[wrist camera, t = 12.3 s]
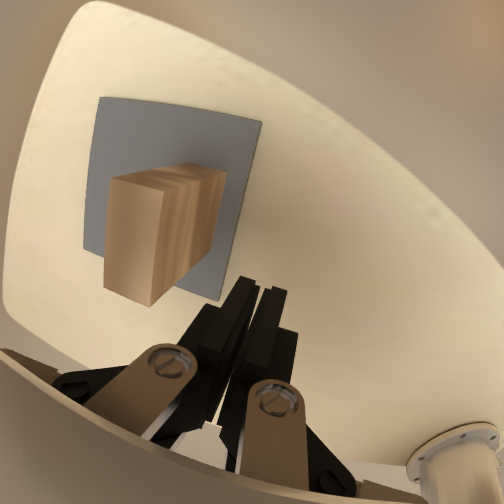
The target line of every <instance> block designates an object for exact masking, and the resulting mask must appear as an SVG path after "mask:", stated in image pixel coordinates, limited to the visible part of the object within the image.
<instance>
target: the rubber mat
mask: <svg viewBox="0 0 504 504" xmlns="http://www.w3.org/2000/svg"><path fill="white" fill-rule="evenodd" d="M261 125H262V122H260V121H256V120H252V119H247V118H243V117H238V116H233V115H228V114H223V113H218V112H213V111H207V110H202V109H196V108H190V107H184V106H177V105H170V104H163V103H156V102H147V101H139V100H129V99H118V98H106V97H100V99H99V104H98V109H97V114H96V120H95V125H94V131H93V138H92V145H91V152H90V159H89V168H88V177H87V188H86V200H85V215H84V241H83V249H85V250H87V251H89V252H92V253H94V254H96V255H99V256H101V257H104V252H105V233H106V219H107V208H108V197H109V188H110V180H111V177H115V176H120V175H125V174H129V173H134V172H139V171H145V170H150V169H155V168H161V167H166V166H172V165H178V164H184V163H192V164H196V165H200V166H204V167H208V168H212V169H216V170H220V171H224V172H228V173H227V178H226V182H225V186H224V191H223V195H222V200H221V204H220V209H219V213H218V218H217V222H216V227H215V232H214V236H213V241H212V246H211V251H210V252H209V253H208V254H207V255H205V256H204V257H203V258H202V259H201V260H200V261H199V262H198V263H197V264H196V265H195V266H193V267H192V268H191V269H190V270H189V271H188V272H187V273H186V274H185V275H184V276H183V277H182V278H181V279H179V280H178V281H177V282H176V283H175V284H174V285H173V286H176V287H179V288H181V289H184V290H187V291H189V292H192V293H195V294H197V295H200V296H203V297H206V298H208V299H211V300H214V301H217V302H218V301H219V299H220V294H221V290H222V286H223V281H224V277H225V273H226V268H227V264H228V260H229V255H230V251H231V247H232V243H233V238H234V234H235V230H236V226H237V222H238V217H239V213H240V209H241V205H242V201H243V197H244V193H245V189H246V184H247V180H248V176H249V172H250V168H251V164H252V160H253V156H254V152H255V148H256V144H257V140H258V136H259V133H260V129H261Z"/></svg>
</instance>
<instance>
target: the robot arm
mask: <svg viewBox="0 0 504 504" xmlns="http://www.w3.org/2000/svg"><path fill="white" fill-rule="evenodd" d="M255 282H256V280H253V279H249V278H246V277H243V276H240V277H239V279H238V280H237V282H236V284H235V285H234V287H233V288H232V290H231V292H230V293H229V295H228V297H227V298H226V300H225V302H224V303H223V305H222V307H221V308H219V307H216V306H213V305H210V304H208V303H206V304H205V305H204V306H203V308H202V309H201V310H200V312H199V313H198V315H197V316H196V318H195V319H194V320H193V322H192V323H191V325H190V326H189V327H188V329H187V330H186V332H185V333H184V335H183V336H182V337H181V339H180V340H179V342H178V343H177V345H175V344H169V343H166V344H158V345H154V346H152V347H150V348H149V349H147V350H146V351H145V352H143V353H142V354H141V355H140V356H139V357H138V358H137V359H135V360H134V361H133V362H132V363H131V364H130V365H126V366H118V367H110V368H102V369H93V370H85V371H75V372H69V373H64V374H60V373H59V370H58V369H56V368H54V367H51V366H48V365H46V364H43V363H41V362H38V361H36V360H33V359H31V358H29V357H26V356H24V355H22V354H20V353H17V352H15V351H13V350H10V349H6V348H5V349H0V504H504V496H503V492H502V488H501V483H500V480H499V477H500V474H501V470H500V469H503V468H504V460H497V457H496V454H495V450H496V448H497V446H498V444H499V440H500V437H499V433H498V431H497V428H496V427H494V426H493V425H491V424H488V423H475V424H469V425H465V426H462V427H458V428H455V429H453V430H451V431H448V432H446V433H444V434H442V435H440V436H438V437H436V438H434V439H433V440H431V441H429V442H428V443H426V444H425V445H424V446H422V447H421V448H420V449H419V450H418V451H416V452H415V453H414V454H413V456H412V457H411V458H410V460H409V461H408V463H407V468H406V470H407V476H408V478H409V480H411V481H412V482H414V483H417V484H420V487H421V496H419V495H416V494H411V493H407V492H404V491H401V490H397V489H393V488H390V487H387V486H383V485H380V484H377V483H373V482H371V481H367V480H363V481H361V482H359V481H356V480H355V479H354V477H353V476H352V474H351V473H350V472H349V470H347V468H345V466H344V465H343V464H342V463H341V462H340V461H339V460H338V459H337V458H336V457H335V455H334V454H333V453H332V452H331V451H330V450H329V449H328V448H327V447H326V446H325V445H324V443H323V442H322V441H321V440H320V439H319V438H318V437H317V436H316V435H315V433H314V432H313V431H312V430H311V429H310V428H309V427H308V425H307V424H306V417H305V403H304V400H303V397H302V395H301V394H300V392H299V391H298V390H297V389H296V388H294V387H293V386H292V385H290V380H291V374H292V369H293V363H294V357H295V352H296V346H297V340H298V333H296V332H293V331H290V330H286V329H283V328H280V327H278V326H279V322H280V319H281V315H282V311H283V307H284V303H285V299H286V295H287V290H284V289H281V288H278V287H275V286H272V289H271V290H270V289H267V288H265V290H264V292H263V295H262V297H261V299H260V302H259V304H258V307H257V309H256V312H255V314H254V317H253V319H252V322H251V324H250V321H251V317H252V314H253V311H254V307H255V304H256V301H257V297H258V294H259V290H260V286H258V285H255ZM249 324H250V326H249ZM248 328H249V329H248ZM230 377H231V378H230ZM229 380H230V381H229ZM228 382H229V385H228ZM227 385H228V388H227V391H226V395H225V398H224V401H223V405H222V408H221V411H220V414H219V418H218V421H217V425H219V426H222V429H221V432H220V435H219V437H220V439H221V440H222V442H223V443H224V445H225V446H226V448H227V451H226V453H225V459H224V465H223V470H222V469H219V468H216V467H213V466H210V465H207V464H204V463H201V462H199V461H196V460H194V459H191V458H188V457H186V456H183V455H180V454H178V453H176V452H173V451H174V450H175V449H176V448H177V446H178V445H179V444H180V442H181V441H182V440H183V438H184V436H185V434H186V432H189V431H192V430H195V429H198V428H200V429H202V426H203V424H204V422H205V421H208V422H212V420H213V418H214V415H215V413H216V411H217V408H218V406H219V404H220V401H221V399H222V397H223V394H224V392H225V389H226V387H227Z"/></svg>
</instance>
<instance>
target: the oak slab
mask: <svg viewBox="0 0 504 504" xmlns="http://www.w3.org/2000/svg"><path fill="white" fill-rule="evenodd" d="M227 173H228V172H224V171H220V170H216V169H212V168H208V167H204V166H200V165H196V164H192V163H184V164H178V165H172V166H166V167H161V168H155V169H150V170H145V171H139V172H134V173H129V174H125V175H120V176H115V177H111V180H110V188H109V197H108V208H107V219H106V233H105V252H104V288H106V289H108V290H111V291H113V292H115V293H117V294H119V295H122V296H124V297H126V298H128V299H130V300H133V301H135V302H137V303H140V304H142V305H144V306H147V307H149V308H150V307H151V306H152V305H153V304H154V303H155V302H156V301H157V300H158V299H159V298H160V297H161V296H162V295H163V294H165V293H166V292H167V291H168V290H169V289H170V288H171V287H172V286H173V285H174V284H175V283H176V282H177V281H178V280H179V279H181V278H182V277H183V276H184V275H185V274H186V273H187V272H188V271H189V270H190V269H191V268H192V267H193V266H195V265H196V264H197V263H198V262H199V261H200V260H201V259H202V258H203V257H204V256H205V255H207V254H208V253H209V252H210V251H211V246H212V241H213V236H214V232H215V227H216V222H217V218H218V213H219V209H220V204H221V200H222V195H223V191H224V186H225V182H226V178H227Z"/></svg>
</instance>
